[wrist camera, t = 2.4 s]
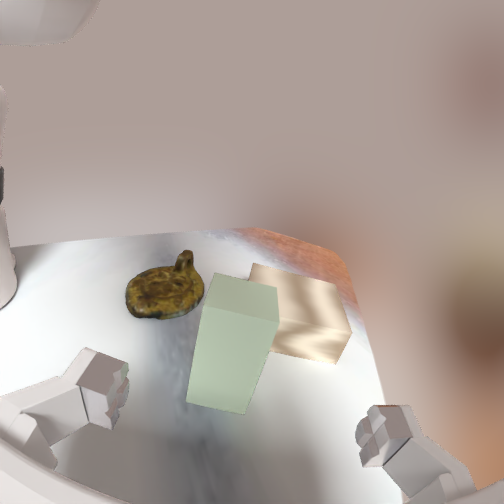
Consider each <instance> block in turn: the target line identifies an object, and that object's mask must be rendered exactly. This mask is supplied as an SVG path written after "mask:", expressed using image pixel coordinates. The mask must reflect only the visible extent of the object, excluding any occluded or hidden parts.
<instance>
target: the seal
mask: <svg viewBox="0 0 504 504" xmlns="http://www.w3.org/2000/svg"><path fill="white" fill-rule="evenodd" d="M203 294H204V283H203V281H202V279H201V277H200V275H199V274H198V273H197V272H196V270H195V268H194V266H193V252H192V251H191V250H185V251H183V252H182V253H181V254H180V255H179V256H178V258H177V261H176V263H175V266H169V267H167V266H166V267H158V268H153V269H149V270H147V271H144V272H142V273H141V274H139V275H137V276H136V277H135V278H133V279H132V280H131V281H130V282H129V283H128V285H127V288H126V295H125V297H126V305H127V308H128V310H129V312H130V313H131V314H132V315H133V316H134V317H137V318H142V317H147V318H157V319H161V320H163V319H170V318H175V317H179V316H182V315H185V314H187V313H188V312H190V311H191V310H192V309H194V308H195V307H196V306H197V305H198V304H199V302H200V301H201V299H202V297H203Z"/></svg>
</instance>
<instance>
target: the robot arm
mask: <svg viewBox="0 0 504 504" xmlns="http://www.w3.org/2000/svg"><path fill="white" fill-rule="evenodd" d="M99 2H100V0H0V45H20V46H36V45H46V44H56V43H65V42H66V41H68V40H70V39H71V38H73V37H74V36H75V35H77V34H78V33H79V32H80V31H81V30H82V29H83V28H84V27H85V26H86V25H87V24H88V23H89V21H90V20H91V19H92V17H93V15H94V14H95V12H96V10H97V8H98V5H99ZM7 111H8V99H7V95H6V93H5V91H4V89H3V87H2V86H1V85H0V308H2V307H3V306H4V305H5V304H6V303H7V302H8V301H9V300H10V299H11V298H12V296H13V295H14V293H15V291H16V288H17V278H16V275H15V272H14V268H15V265H16V260H15V255H14V254H12V253H11V251H10V245H9V238H8V231H7V224H6V215H5V210H4V208H3V207H2V206H1V201H2V200H3V186H4V169H3V168H2V166H1V157H2V147H3V138H4V130H5V123H6V117H7ZM128 371H129V369H128V363H126V362H124V361H121V360H118V359H116V358H113V357H110V356H108V355H105V354H102V353H100V352H97V351H94V350H92V349H89V348H87V347H86V348H84V349H82V350H81V351H80V353H79V354H78V355H77V357H76V358H75V359H74V361H73V362H72V363H71V365H70V366H69V367H68V369H67V370H66V371H65V373H64V374H63V376H62V377H61V378H60V377H58V376H57V377H54V378H51V379H48V380H46V381H43V382H40V383H38V384H35V385H32V386H29V387H26V388H24V389H21V390H18V391H15V392H12V393H9V394H6V395H3V396H0V504H132V503H129V502H126V501H123V500H120V499H117V498H114V497H112V496H109V495H106V494H104V493H101V492H99V491H96V490H94V489H92V488H89V487H87V486H85V485H82V484H80V483H78V482H76V481H74V480H71V479H69V478H67V477H65V476H63V475H61V474H59V473H57V472H55V471H54V470H55V468H56V465H57V463H58V462H57V459H56V457H55V455H54V454H53V452H52V450H51V449H50V446H51V445H53V444H55V443H56V442H58V441H60V440H62V439H63V438H65V437H67V436H68V435H70V434H72V433H73V432H75V431H77V430H78V429H80V428H82V427H83V426H85V425H86V424H88V423H89V422H91V423H93V424H96V425H99V426H101V427H104V428H107V429H110V430H113V428H114V426H115V424H116V422H117V419H118V417H119V410H118V409H119V408H121V407H123V406H124V404H125V402H126V400H127V396H128V392H129V380H128V378H127V377H126V375H127V373H128ZM367 415H368V416H367V417H365V418H363V419H362V420H361V421H360V422H359V424H358V425H357V428H356V432H355V438H356V442H357V444H358V445H359V446H360V447H361V448H362V449H361V451H360V452H359V455H360V459H361V463H362V467H381V466H383V467H382V468H383V469H384V470H385V471H386V472H387V474H388V475H389V476H390V477H391V478H392V479H393V480H394V482H395V483H396V484H397V485H398V486H399V487H400V488H401V490H402V491H403V492H404V493H405V494H406V495H407V496H408V497H409V498H410V499H409V500H408V501H406V502H405V503H403V504H504V478H503V479H501V480H499V481H498V482H495V483H494V484H491V485H489V486H487V487H485V488H482V489H480V490H478V491H477V490H476V487H475V485H474V483H473V480H472V478H471V476H470V473H469V471H468V469H467V467H466V466H465V465H464V464H462V463H461V462H460V461H458V460H457V459H456V458H455V457H453V456H452V455H451V454H449V453H448V452H447V451H445V450H444V449H443V448H442V447H441V446H439V445H438V444H437V443H435V442H434V441H433V440H431V439H430V438H429V437H427V436H424V434H423V432H422V429H421V427H420V425H419V423H418V421H417V418H416V416H415V415H414V412H413V410H412V408H411V407H410V406H409V405H373V406H372V407H370V408H369V410H368V411H367Z"/></svg>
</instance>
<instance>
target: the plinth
mask: <svg viewBox="0 0 504 504" xmlns="http://www.w3.org/2000/svg"><path fill="white" fill-rule="evenodd" d="M248 281H252V282H256V283H260V284H264V285H269V286H273V287H277V296H278V308H279V320H280V323H279V326H278V329H277V332H276V334H275V337H274V340H273V342H272V345H271V348H270V351H272V352H276V353H281V354H285V355H290V356H295V357H299V358H304V359H309V360H314V361H320V362H325V363H330V364H336V363H337V361H338V359H339V358H340V356H341V354H342V352H343V350H344V348H345V346H346V344H347V342H348V340H349V338H350V336H351V334H352V331H351V328H350V325H349V322H348V319H347V316H346V313H345V310H344V308H343V305H342V302H341V299H340V296H339V294H338V291H337V288H336V285H335V284H332V283H328V282H324V281H320V280H316V279H313V278H309V277H305V276H301V275H297V274H294V273H290V272H286V271H282V270H278V269H275V268H271V267H267V266H263V265H260V264H256V263H253V265H252V269H251V272H250V276H249V280H248Z"/></svg>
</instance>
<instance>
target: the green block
mask: <svg viewBox="0 0 504 504" xmlns="http://www.w3.org/2000/svg"><path fill="white" fill-rule="evenodd" d="M279 323H280V320H279V308H278V296H277V287H273V286H269V285H264V284H260V283H256V282H252V281H248V280H243V279H239V278H235V277H231V276H227V275H223V274H219V273H214V276H213V279H212V282H211V284H210V287H209V290H208V293H207V296H206V299H205V301H204V304H203V309H202V314H201V319H200V324H199V330H198V335H197V340H196V346H195V351H194V357H193V362H192V368H191V374H190V379H189V385H188V391H187V397H186V402H188V403H192V404H196V405H200V406H204V407H209V408H213V409H218V410H223V411H228V412H233V413H238V414H243V415H244V414H245V412H246V410H247V407H248V405H249V402H250V400H251V397H252V395H253V392H254V390H255V387H256V384H257V382H258V379H259V377H260V374H261V372H262V369H263V366H264V364H265V361H266V358H267V356H268V353H269V351H270V348H271V345H272V342H273V340H274V337H275V334H276V332H277V329H278V326H279Z"/></svg>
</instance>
